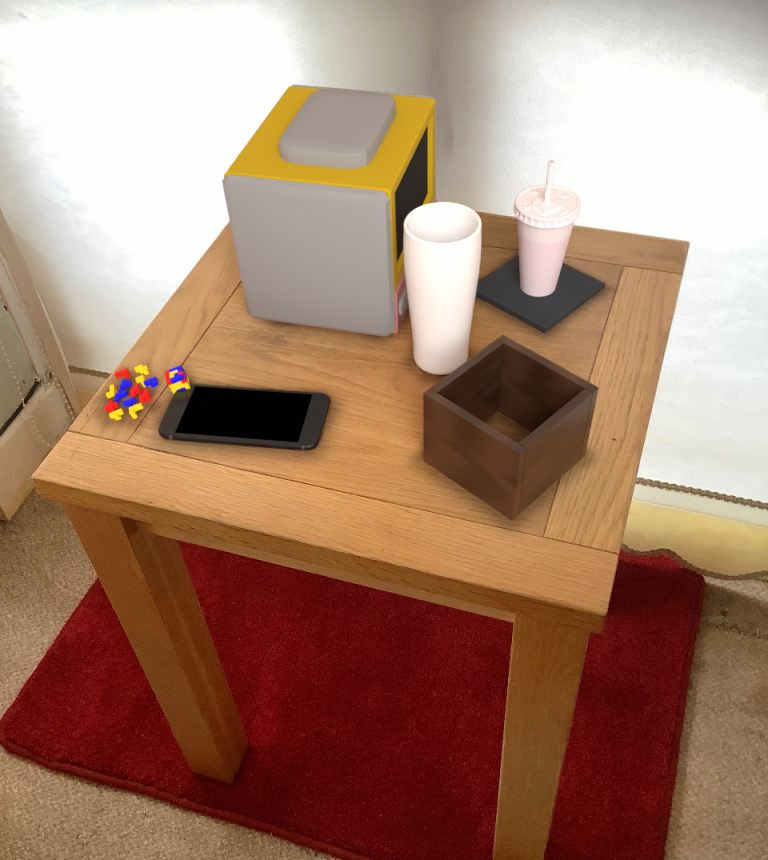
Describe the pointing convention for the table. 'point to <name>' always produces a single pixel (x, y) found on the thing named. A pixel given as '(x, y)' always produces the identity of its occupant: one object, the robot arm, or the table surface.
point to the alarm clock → (331, 206)
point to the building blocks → (174, 379)
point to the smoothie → (544, 233)
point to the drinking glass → (441, 282)
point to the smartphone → (246, 417)
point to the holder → (520, 401)
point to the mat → (538, 310)
